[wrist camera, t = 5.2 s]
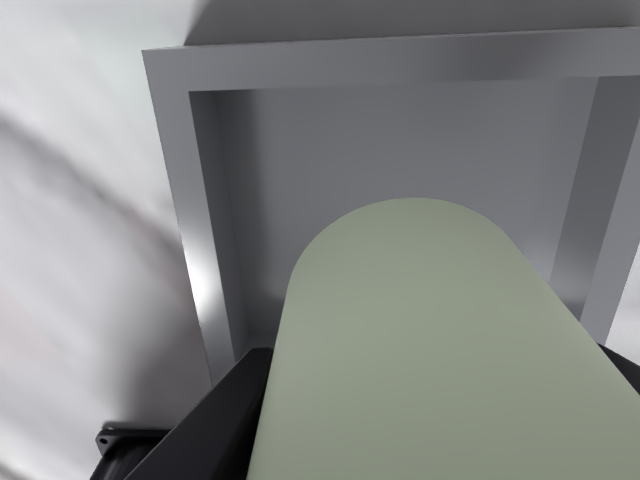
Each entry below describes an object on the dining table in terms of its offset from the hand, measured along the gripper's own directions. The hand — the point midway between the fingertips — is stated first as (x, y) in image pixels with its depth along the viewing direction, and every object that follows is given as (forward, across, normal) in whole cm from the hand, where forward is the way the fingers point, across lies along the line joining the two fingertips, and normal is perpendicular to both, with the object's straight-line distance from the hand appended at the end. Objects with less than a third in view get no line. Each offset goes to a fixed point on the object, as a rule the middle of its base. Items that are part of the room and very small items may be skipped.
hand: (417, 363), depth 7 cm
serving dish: (+11, -1, +2) cm, 11 cm away
